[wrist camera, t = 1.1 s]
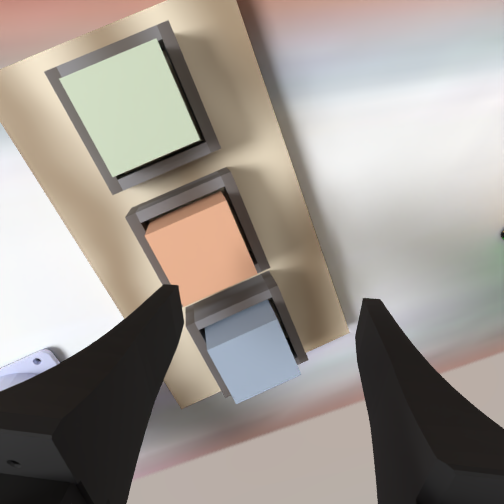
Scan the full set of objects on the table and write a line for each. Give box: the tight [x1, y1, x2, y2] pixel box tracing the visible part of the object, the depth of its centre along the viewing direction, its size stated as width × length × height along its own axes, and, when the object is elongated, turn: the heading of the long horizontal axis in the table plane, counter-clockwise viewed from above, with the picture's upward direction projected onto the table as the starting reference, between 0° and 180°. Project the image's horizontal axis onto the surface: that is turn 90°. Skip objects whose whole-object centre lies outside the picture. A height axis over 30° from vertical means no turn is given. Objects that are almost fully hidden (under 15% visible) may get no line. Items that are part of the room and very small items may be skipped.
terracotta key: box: [145, 191, 258, 307], centre depth 20 cm, size 4×4×3 cm
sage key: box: [59, 38, 200, 177], centre depth 17 cm, size 4×4×3 cm
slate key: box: [205, 299, 301, 404], centre depth 23 cm, size 4×4×3 cm
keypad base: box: [0, 0, 350, 409], centre depth 22 cm, size 14×24×4 cm, turn 22°
